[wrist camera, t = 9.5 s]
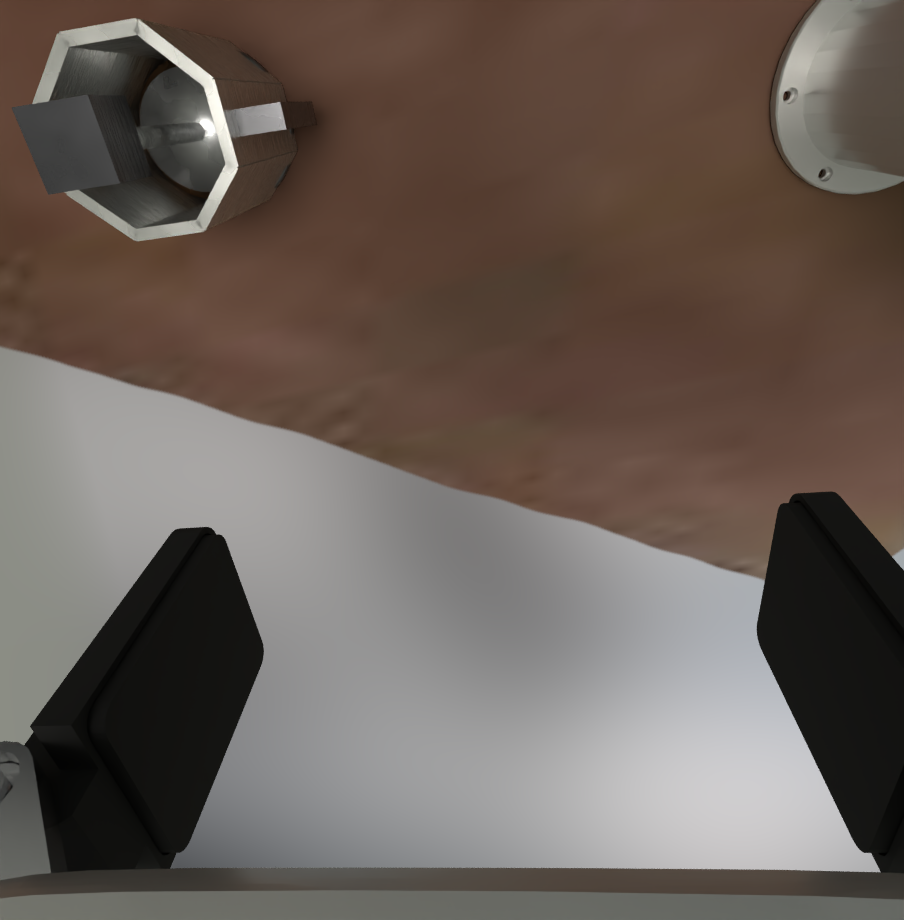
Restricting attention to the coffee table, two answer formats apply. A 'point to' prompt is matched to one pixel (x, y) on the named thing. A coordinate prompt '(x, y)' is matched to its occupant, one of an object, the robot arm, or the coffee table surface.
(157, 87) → the plunger
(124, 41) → the press carafe
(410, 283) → the coffee table surface
